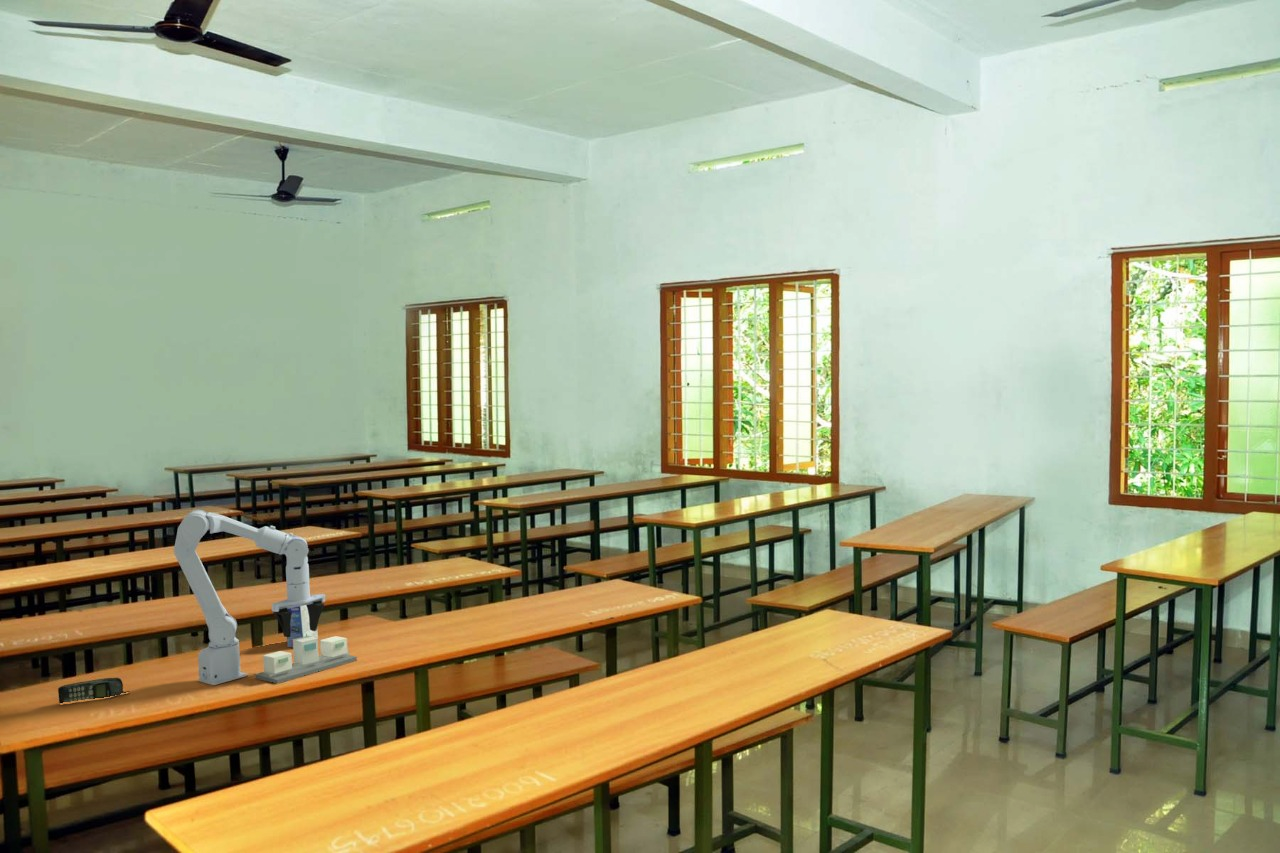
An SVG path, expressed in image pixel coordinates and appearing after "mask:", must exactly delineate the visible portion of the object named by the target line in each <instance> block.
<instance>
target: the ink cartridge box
mask: <svg viewBox="0 0 1280 853" xmlns="http://www.w3.org/2000/svg"><path fill="white" fill-rule="evenodd" d="M287 610H288V611H289V612H292V615H291V622H290V628H291V636H290V637H286V643H287V648H293V639H296V638H301V637H305V636H311V637H314V638H318V639H319V635H318V634H319V633H318V630H317V631H312V630H310V624H309V614H308V609H307V606H306V605H304V606H299V607H294V608H289V609H287Z"/></svg>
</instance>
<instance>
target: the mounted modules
mask: <svg viewBox="0 0 1280 853" xmlns="http://www.w3.org/2000/svg"><path fill="white" fill-rule="evenodd" d="M319 644H320V646H319V647H320V649H319V650H320V656H321V655H324V656H328V657H335V656H338V655H342V654H345V653H348V651H349V650H348V638H347V637H342V636H337V635H334V636H331V637H328V638H323V639H320V640H319ZM292 656H293V654H292V652H287V651H284V650H278V651H274V652H270V653H266V654H263V655H262V662H263V663H262V664H263V666H262V667H263V672H264V671H267V672H271V673H279V672H282V671H286V670H289V669H292V664H293V658H292Z"/></svg>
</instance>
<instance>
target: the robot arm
mask: <svg viewBox="0 0 1280 853" xmlns="http://www.w3.org/2000/svg"><path fill="white" fill-rule="evenodd" d="M208 530H209V534H211V535H212V534H214V533H220V532H225V533H228V534H232V535H235V536H237V537H242V538H244V539H249V540H252V541H254V543H255V546H256V547H257V548H260V549H262V550H266V551H269V552H271V553H274V554H278V555H285V557H286V564H285V565H286V566H285V577H286V578H285V579H286V598H287V599H284V600H281V601H277V602H274V603H271V605H270V606H271V612H273V615H274V616H275V618H276V619H277V621H278V623H279V624H280V627H281V630H282V634H283V636H284V637H285V638H287V637H290V636H291V628H290V622H291V615H292V612H289V611H288V610H287V609H289V608H294V607H299V606H304V605H306V606H307V609H308V614H309V624H310V630H312V631H317V632H318V626H319V625H318V624H319V622H320V617H321V614H322V612H323V610H324V608H325V602H326V594H325V593H318V594H313V595H311V591H310V590H311V589H310V568H309V567H310V566H309V563H308V562H309V557H308V554H309V552H310V550H309V549H310V548H308V547H309V546H308V541H306V539H304V538H303V537H302V536H300V535H297V534H295V535H294V533H292V532H289V533H287V532H284V531H282V530H278V529H276V526H274V525H270V526H266V525H265V526H263V527H260V528H258V527H254V526H252V525H249V524H247V523H244V522H242V521H238V520H236V519H233V518H230V517H228V516H226V515H222V514H219V513H216V512H212V511H211V512H210V511H208V512H207V511H205V510H203V509H193V510H191V511H189V512H188V514H186V516H185V517H184V518H183V519H182V521H181V523H180V524H179V525H178V528H177V532H176V536H175V537H176V538H175V543H174V548H173V553H174V556H175V558H176V560H177V562H178V564H179V566H180V568H181V570H182V572H183V574H184V576H185V579H186V580H187V582H188V585H189V586H190V590H192V593H193V595H194V597H195V599H196V601H197V603H198V605H199V608H200V609H201V611H202V613H203V616H204V619H205V623H206V626H207V628H208V639H209V642H208V645H207V647H205V648H203V649H201V650H200V651H199V652H198V656H197V657H198V658H197V660H198V662H197V663H198V676H199V677H198V679H197V681H198V682H200V683H205V684H208V685H211V686H216V685H220V684H223V683H226V682H227V683H228V682H230V681H231V682H232V681H234V680H237V679H241V678H245V677H248V676H249V675H248V673H245V672H241V656H240V655H241V654H240V640H239V639H238V638H237V637H236V632H237V629H238V623H237V620H236V618H234V617H233V616H232V615H230V614H229V613H228V611H227V609H226V607H225V606H224V604H222V602H221V599H220V598H219V595H218V593H217V591H216V589H215V587H214V585H213V583H212V581H211V579H210V576H209V575H208V572H207V571H206V568H205V566H204V565H203V562H202V560H201V558H200V557H199V554H198V553H197V547H198V545H199V543H200V541H201V539H202V538H203V536H205V534H206V533H207V532H208Z"/></svg>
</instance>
